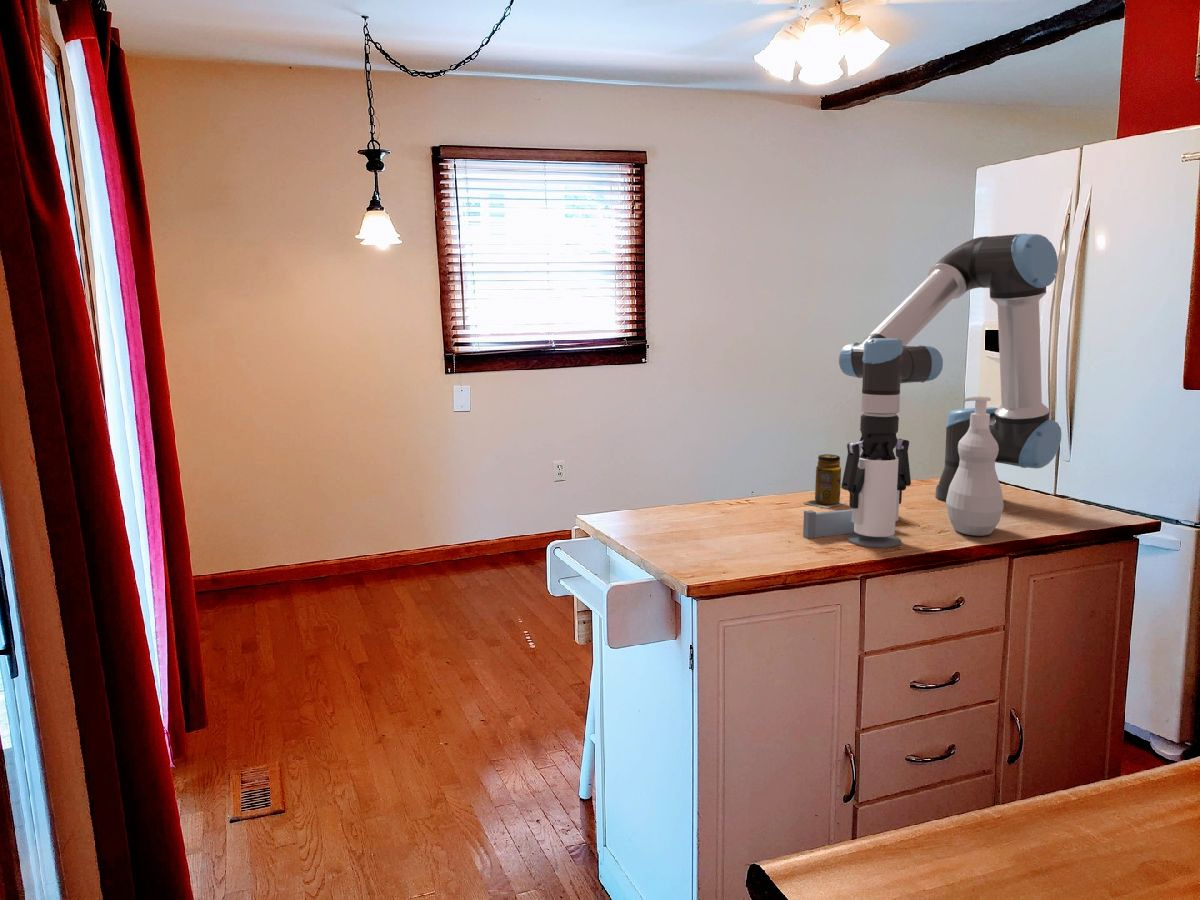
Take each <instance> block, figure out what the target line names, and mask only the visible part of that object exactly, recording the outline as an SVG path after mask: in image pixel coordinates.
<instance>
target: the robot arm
mask: <svg viewBox="0 0 1200 900" xmlns="http://www.w3.org/2000/svg"><path fill="white" fill-rule="evenodd" d="M1057 255H1058V254H1057V252H1056V249H1055V246H1054V245H1053V243H1052V241H1050V240H1049V239H1048V237H1046V236H1044V235H1042V234H1039V233H1016V234H1006V235H995V236H987V235H986V236H979V237H975V238H972V239H970V240H967V241H965V242H963V243H961V244H960V245H958V246H956V247H955V248H954V249H952V250H950V251H949V252H947V253H946V254H945V255H943V257H941V258H940V259H938V261H937V262H936V263H935V264H934V265H933V266H932V267H930V269H929V271H928V273H927V278H926V279H924V280H923V281H922V282H921V283H920V284H919V285H918V286H917V288H915V289H914V290H913V291H912V292H911V293H910V294H909V295H908V296H907V297H906V298H905V299H904V300H903V301H902V302H900V304H899V305H898V306H897V307H896V308H895V309H894V310H893V311H892V312H890V314H889V315H888V316H887V317H886V318H885V319H883V321H882V322H881V323H880V324H878V325H877V327H876V328H875V329H873V331H871V332H870V333H869V334H868V336H867V337H865V338H864V340H862V342H852V343H847V344H846V345H844V346H843V347H842V349H841V350H840V353H839V355H838V366H839V368H840V370H841V372H842V373H843V374H844V375H846V376H849V377H853V378H858V379H862V381H861V382H862V387H861V388H862V389H861V401H860V402H861V404H860V405H861V406H860V411H861V412H862V414H861V415H860V425H859V426H860V427H859V431H860V434H861V436H860V439H859V441H857V442H851V441H850V442H847V444H846V448H847V449H846V450H847V457H846V462H845V467H844V472H843V477H842V481H841V485H840V488H841V489H842V490H843V491H844V490H845V491H848V492H849V502H848V503H849V507H850V508H851V509H852V518H851V522H853V523H856V524H858V525H862V519H863V497H864V494H863V493H860V491H861V489H862V486H863V484H864V480H865V468H864V469H860V468H859V467H858V463H859V457H860V458H863V459H868V460H876V459H880V458H881V459H882V460H895V459H896V458H895V456H896V457H898V480H897V499H896V519H895V522H897V521H899V512H900V511H899V510H900V509H899V508H900V505H902V501H903V500H902V497H903V496H902V495H903V491H906V489H907V487H910V486H911V485H912V481H911V471H910V470H911V469H910V461H909V460H910V459H909V446H910V441H909V440H908V439H905V438H904V439H903V438H898V436H897V433H898V432H899V422H900V418H899V416H898V413H900V404H901V402H900V401H901V384H909V383H925V382H929V381H933V380H935V379H937V378H938V377H939V376H940V374H941V372H942V371H943V365H944V363H943V362H944V360H943V356H942V353H941V352H940V351H939V350H938V349H937V348H936V347H934V346H930V345H929V346H928V345H922V344H921V345H918V346H915V345H912V346H910V345H908V344H909V343H911V341H912V340H913V339H914V338H916V336H917V335H918V334H919V333H920V332H922V330H923V329H924V328H925V327H926V326H927V325H928V324H929V323H930V322H931V321H932V320H933V319H934V318H935V317H936V316H937V315H938V314H939V313H940V312H941V311H942V310H944V308H945V307H946V306H947V305H948V304H949V303H950V302H951V301H952V300H955V299H959V298H961V297H962V296H963V295H964V294H965V293H966V292H969V291H971V290H973V289H980V288H983V289H985V288H986V289H989V299H991V300H992V301H993V302H994V303H995V304H996V306H997V325H998V348H999V349H998V350H999V351H998V352H999V370H1000V371H999V374H1000V377H999V378H1000V398H1001V399H1000V400H1001V404H1000V406H999V407H993V406H988V407H986V414H990V422H989V428H990V432H991V434H992V436H993V437H994V439H995V440H996V442H997V443H998V447H999V451H998V455H997V458H996V460H995V463H997V464H1005V465H1010V466H1013V467H1014V466H1015V467H1020V468H1023V469H1026V468H1030V469H1042V468H1045V467H1046V466H1048V464H1050V463H1051V462H1052V461H1053V459H1054V458H1055V456H1056V454H1057V453H1058V451H1059V449H1060V445H1061V441H1062V428H1061V425H1059V423H1058V422H1057V421H1055V420H1054V419H1050V409H1049V408H1048V407H1047V406H1046V405H1045V404H1044V403H1043V401H1042V400H1043V395H1042V394H1043V393H1042V365H1041V363H1042V360H1041V329H1040V327H1041V325H1040V323H1041V320H1040V300H1041V299H1042V298H1043V297H1044V296H1045V295H1047V287H1048V286H1050V285H1051V284H1052V283H1053V282H1054V281H1055V279H1056V274H1057V273H1058V269H1059V267H1058V266H1059V261H1058V260H1059V259H1058V256H1057ZM971 413H975V407H970V408H969V407H968V408H959V409H958V408H957V409H952V410H951V411H950V412H949V413H948V415H947V422H946V426H945V428H946V431H945V432H946V434H945V453H944V454H945V455H944V467H943V470H942V473H941V476H940V478H939V481H938V484H937V485H936V487H935V498H937V499H938V500H941V501H944V502H946V499H947V494H948V490H949V486H950V484H951V482H952V480H953V478H954V475H955V473H956V471H957V469H958V467H959V462H960V457H959V453H958V444H959V441H960V440H961V439H962V437H963V436H964V435H965V434H966V433H967V431H968V429H969V427H970V415H971ZM894 449H895V452H894ZM860 455H861V456H860ZM867 457H868V458H867Z"/></svg>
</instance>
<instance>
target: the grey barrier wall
mask: <svg viewBox="0 0 1200 900" xmlns="http://www.w3.org/2000/svg"><path fill="white" fill-rule="evenodd" d="M851 518H852V508H851V509H843V510H842V509H840V510H830V511H822V512H816V511H814V510H804V511H803V529H802V530H803V531H802V536H803V537H804V538H806V539H815V538H819V537H828V536H837V535H839V536H840V535H846V534H853V533H856V532H854V523H853V522H851Z"/></svg>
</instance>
